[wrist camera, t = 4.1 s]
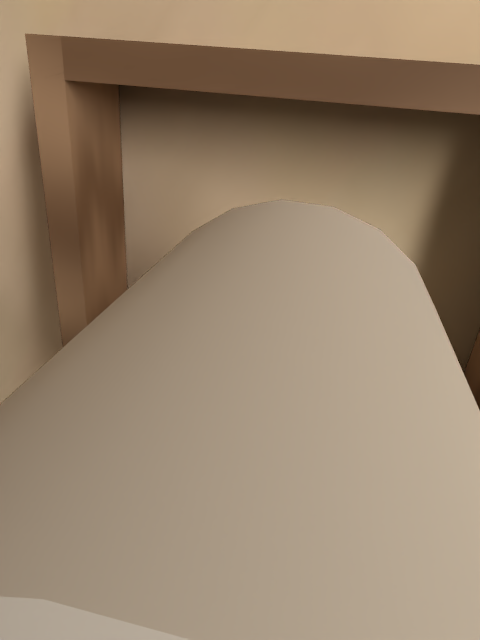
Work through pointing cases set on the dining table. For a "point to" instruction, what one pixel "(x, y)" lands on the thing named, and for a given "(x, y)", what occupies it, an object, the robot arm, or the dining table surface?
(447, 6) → the dining table surface
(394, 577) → the can
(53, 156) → the wooden divided tray
